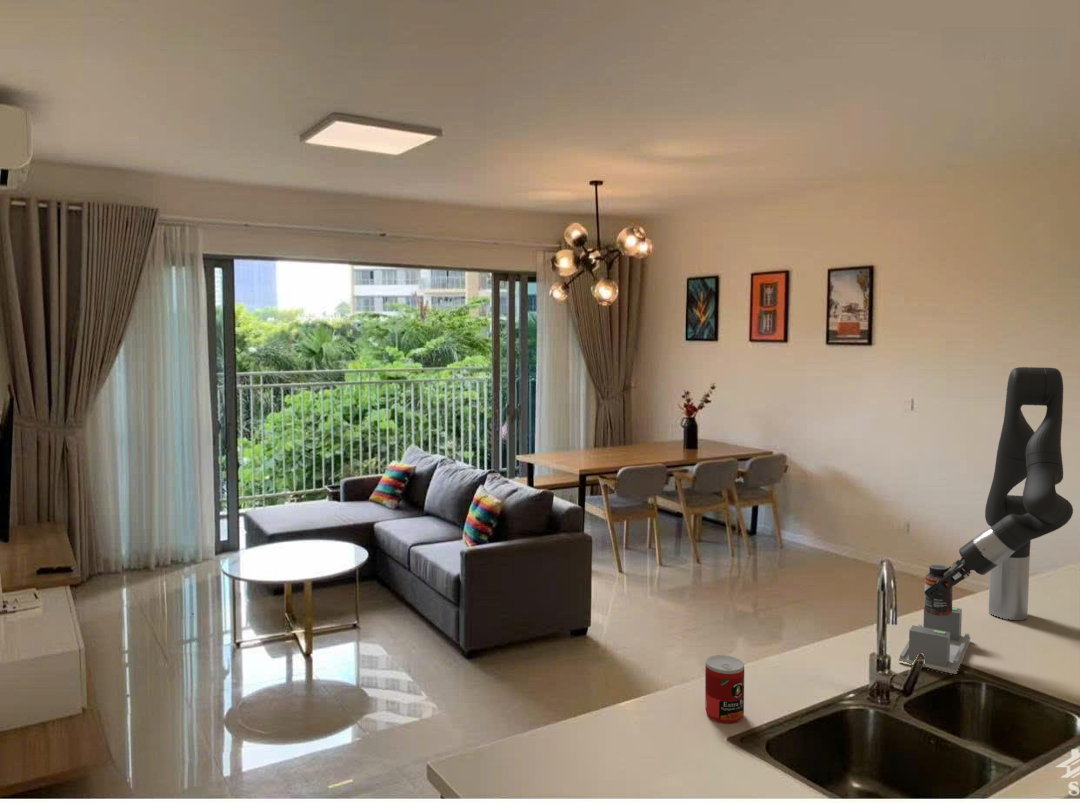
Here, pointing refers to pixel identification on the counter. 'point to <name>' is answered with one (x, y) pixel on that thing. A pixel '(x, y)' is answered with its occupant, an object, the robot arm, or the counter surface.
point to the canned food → (724, 688)
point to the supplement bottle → (943, 600)
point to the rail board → (938, 642)
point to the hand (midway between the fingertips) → (930, 591)
